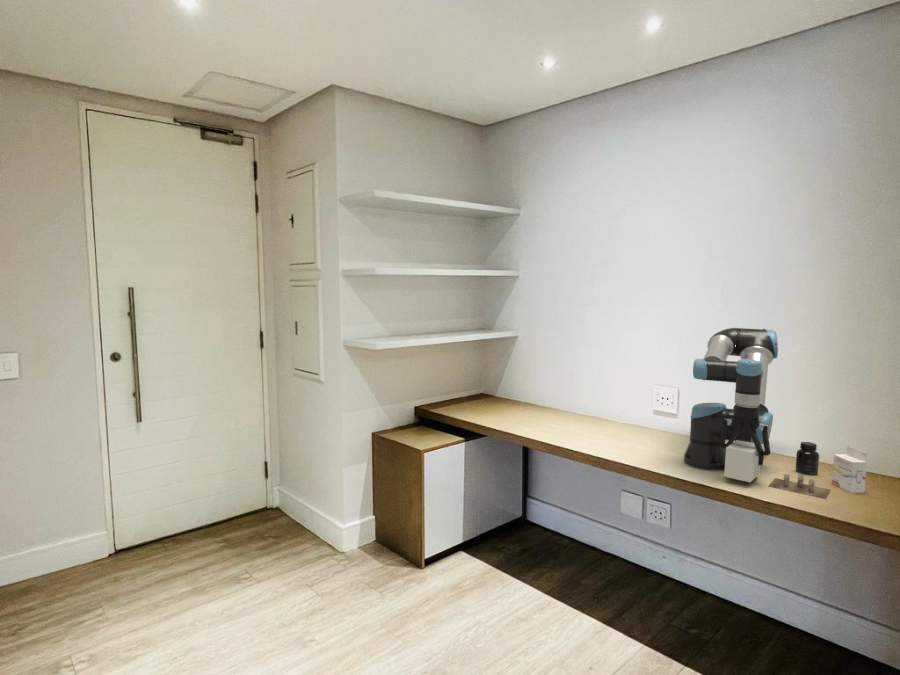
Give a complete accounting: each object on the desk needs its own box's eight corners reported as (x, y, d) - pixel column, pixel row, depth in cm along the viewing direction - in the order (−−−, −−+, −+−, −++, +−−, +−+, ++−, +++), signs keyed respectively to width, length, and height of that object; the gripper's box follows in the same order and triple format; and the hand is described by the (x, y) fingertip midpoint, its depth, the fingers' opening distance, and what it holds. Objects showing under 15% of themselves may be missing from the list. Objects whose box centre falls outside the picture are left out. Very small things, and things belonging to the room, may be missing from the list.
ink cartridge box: (830, 487, 186) (833, 445, 184) (844, 487, 186) (847, 444, 185) (850, 497, 177) (854, 452, 176) (865, 497, 178) (868, 452, 176)
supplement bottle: (790, 472, 200) (793, 440, 199) (810, 473, 200) (812, 440, 199) (802, 479, 194) (804, 446, 192) (822, 479, 193) (824, 446, 192)
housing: (734, 467, 195) (736, 439, 194) (760, 472, 190) (761, 444, 189) (724, 476, 185) (726, 447, 184) (750, 482, 180) (752, 452, 179)
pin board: (767, 490, 182) (768, 474, 182) (774, 482, 190) (775, 466, 190) (825, 503, 172) (826, 486, 171) (830, 494, 180) (831, 477, 179)
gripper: (710, 402, 190) (706, 466, 192) (779, 412, 176) (775, 481, 178) (717, 399, 195) (713, 462, 197) (784, 408, 181) (779, 475, 184)
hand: (742, 471), depth 188 cm, fingers closed on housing, 8 cm apart
